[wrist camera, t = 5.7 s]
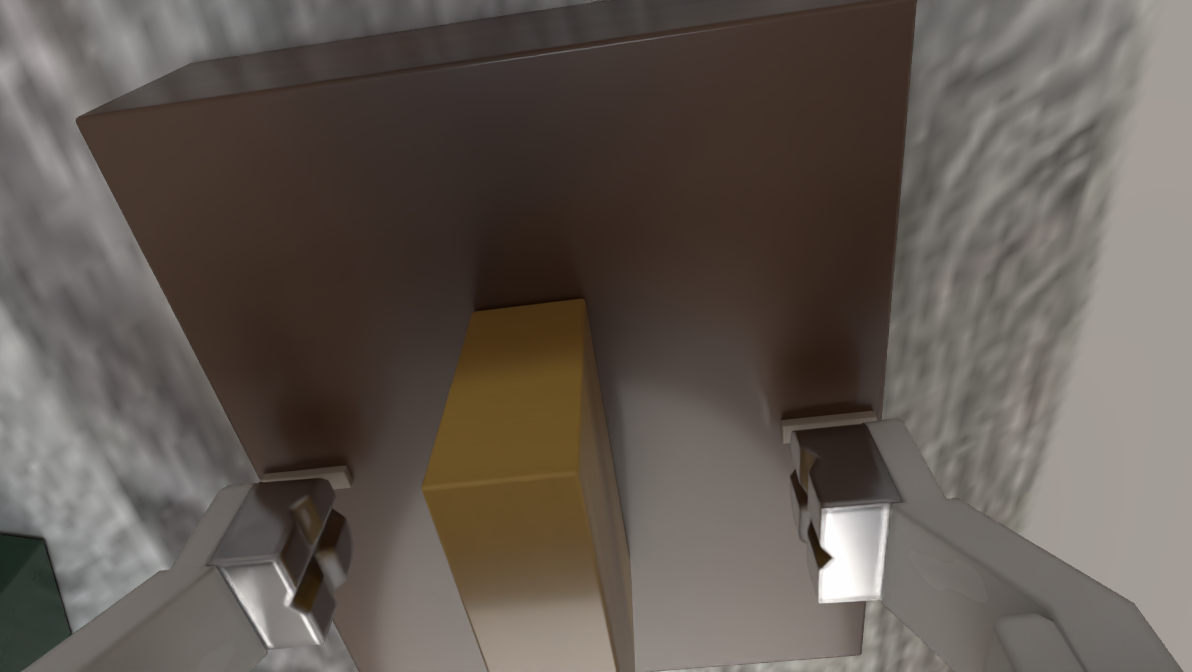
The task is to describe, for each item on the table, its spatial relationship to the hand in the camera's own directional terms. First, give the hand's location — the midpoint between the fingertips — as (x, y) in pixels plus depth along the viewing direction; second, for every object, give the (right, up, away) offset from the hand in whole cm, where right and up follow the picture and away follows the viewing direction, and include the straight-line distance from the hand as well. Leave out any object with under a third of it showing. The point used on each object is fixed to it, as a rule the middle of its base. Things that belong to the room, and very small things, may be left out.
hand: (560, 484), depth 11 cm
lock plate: (0, +2, +3) cm, 4 cm away
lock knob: (0, 0, +1) cm, 1 cm away
